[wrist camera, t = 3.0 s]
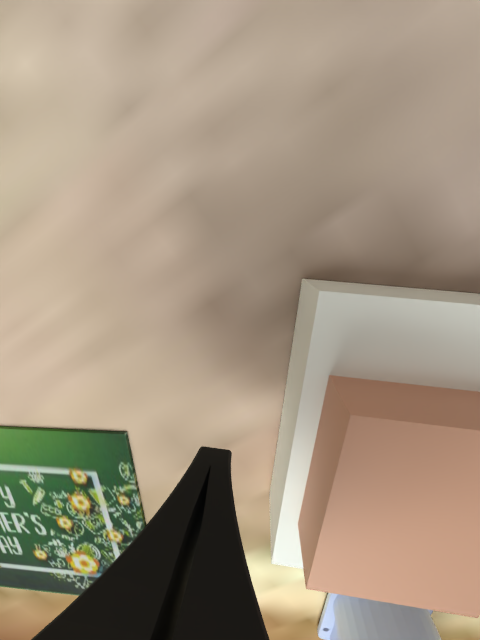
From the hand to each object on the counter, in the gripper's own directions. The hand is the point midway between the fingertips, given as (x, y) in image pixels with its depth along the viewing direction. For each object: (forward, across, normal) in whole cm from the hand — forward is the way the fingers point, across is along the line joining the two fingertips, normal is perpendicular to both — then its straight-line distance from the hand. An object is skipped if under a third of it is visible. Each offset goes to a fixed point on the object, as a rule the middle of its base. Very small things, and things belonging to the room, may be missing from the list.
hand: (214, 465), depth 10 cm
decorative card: (+6, +22, +16) cm, 28 cm away
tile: (0, -8, 0) cm, 8 cm away
